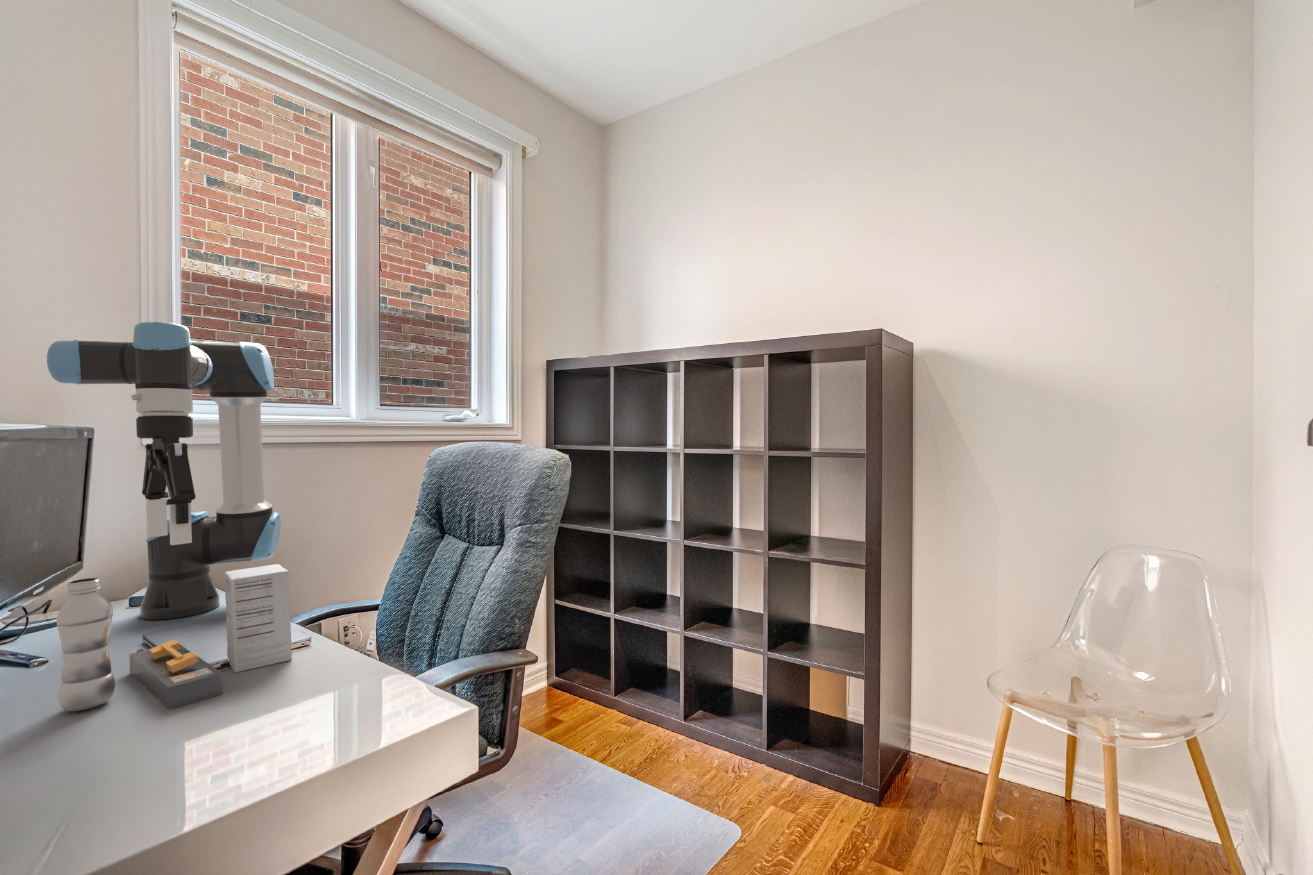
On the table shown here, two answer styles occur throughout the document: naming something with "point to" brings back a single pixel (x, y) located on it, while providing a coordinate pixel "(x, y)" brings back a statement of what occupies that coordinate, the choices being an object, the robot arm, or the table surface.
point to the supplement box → (258, 617)
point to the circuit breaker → (175, 679)
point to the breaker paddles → (179, 660)
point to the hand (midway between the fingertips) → (168, 540)
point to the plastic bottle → (85, 647)
